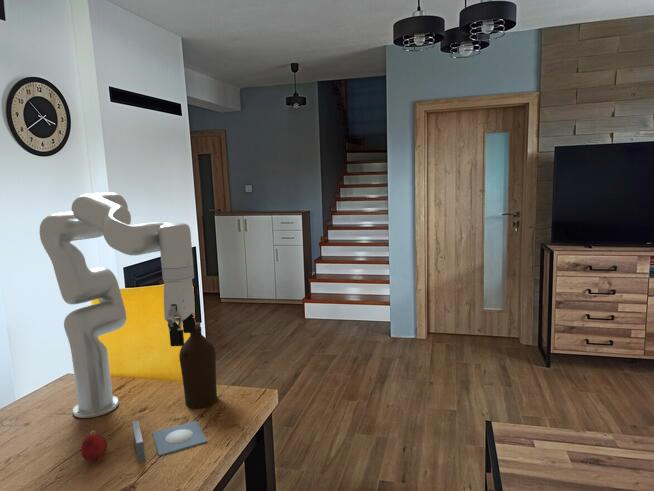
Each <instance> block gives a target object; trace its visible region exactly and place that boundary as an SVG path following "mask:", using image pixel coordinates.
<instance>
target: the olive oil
mask: <svg viewBox="0 0 654 491" xmlns="http://www.w3.org/2000/svg"><path fill="white" fill-rule="evenodd" d="M195 325H196V332H195V333H189V334H190V335H189V337H188V339H186V341H184V345H183V346H180V347H181V348H180V350H179V365H180V371H181V377H182V383H183V392H184V394H183V395H184V401H185V405H186V406H187V407H188V408H190V409H203V408H204V409H205V408H207V407H210V406H211V405H214V404H215V403H216V401H217V400H218V395H217V394H218V392H217V367H216V366H217V362H216V360H217V358H216V357H217V355H216V349H215V346H214V344H213V343H212V342H211V341H210V339H208V338H207V337H205V336H204V335H203V334H202V326H201V322H200V321H195Z"/></svg>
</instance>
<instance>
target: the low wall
mask: <svg viewBox="0 0 654 491" xmlns="http://www.w3.org/2000/svg"><path fill="white" fill-rule="evenodd" d="M131 427H132V435H133V442H134V448H135V451H136V456H137V462H138V463H141V462H145V461H146V454H145V446H144V438H143V435H142V431H141V428H140V423H139V420H133V421H131Z"/></svg>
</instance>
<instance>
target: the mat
mask: <svg viewBox="0 0 654 491" xmlns="http://www.w3.org/2000/svg"><path fill="white" fill-rule="evenodd" d="M152 438H153V441H154V444H155V447H156V450H157V453H158V457H162V456H165V455H168V454H172V453H175V452H178V451H179V452H180V451H182V450H185V449H189V448H193V447H196V446H199V445H203V444H206V443H208V440H207V438H206V435H205V434H204V432H203V429H202V427H201V426H200V424H199V422H198V420H194V421H190V422H187V423H182V424H179V425H175V426H173V427H169V428H164V429H161V430H156V431H154V432H152Z"/></svg>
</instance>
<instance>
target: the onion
mask: <svg viewBox="0 0 654 491" xmlns="http://www.w3.org/2000/svg"><path fill="white" fill-rule="evenodd" d="M107 450H108V441H107V439H106V438H105V437H104V436H103V435H101V434H98V433H97V431H96V430H92V431H90V433H89V435H87V436H86V437H85V439H84V440H83V441H82V443H81V446H80V454H81V457H82V458H83V459H84V460H85V461H87V462H93V463H97V462H99V460H100V459H101V458H102V457H104V455H105V454H106V452H107Z"/></svg>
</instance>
